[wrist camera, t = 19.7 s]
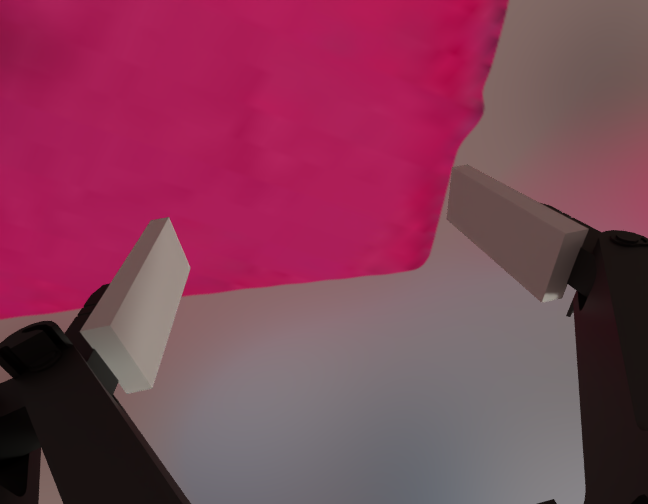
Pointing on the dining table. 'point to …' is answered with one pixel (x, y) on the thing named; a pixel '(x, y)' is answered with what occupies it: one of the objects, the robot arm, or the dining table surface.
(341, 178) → the dining table surface
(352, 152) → the dining table surface
